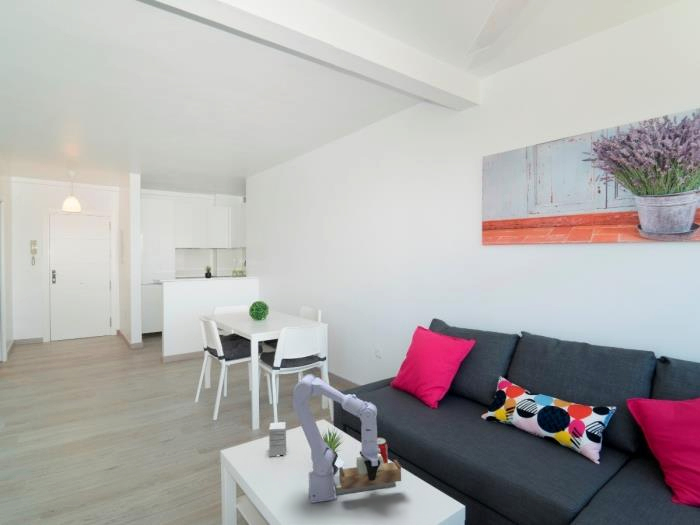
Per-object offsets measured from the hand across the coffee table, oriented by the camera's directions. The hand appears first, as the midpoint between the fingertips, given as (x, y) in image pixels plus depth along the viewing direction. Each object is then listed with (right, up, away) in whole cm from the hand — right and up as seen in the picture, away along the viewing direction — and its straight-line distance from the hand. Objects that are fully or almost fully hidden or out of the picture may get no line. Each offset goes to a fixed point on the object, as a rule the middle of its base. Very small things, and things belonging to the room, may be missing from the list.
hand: (369, 475), depth 139 cm
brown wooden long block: (0, -2, 0) cm, 2 cm away
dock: (-2, -9, +9) cm, 13 cm away
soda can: (+5, -9, +20) cm, 22 cm away
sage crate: (-2, +2, -1) cm, 3 cm away
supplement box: (-40, -10, +36) cm, 55 cm away
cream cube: (+2, +2, +1) cm, 4 cm away
